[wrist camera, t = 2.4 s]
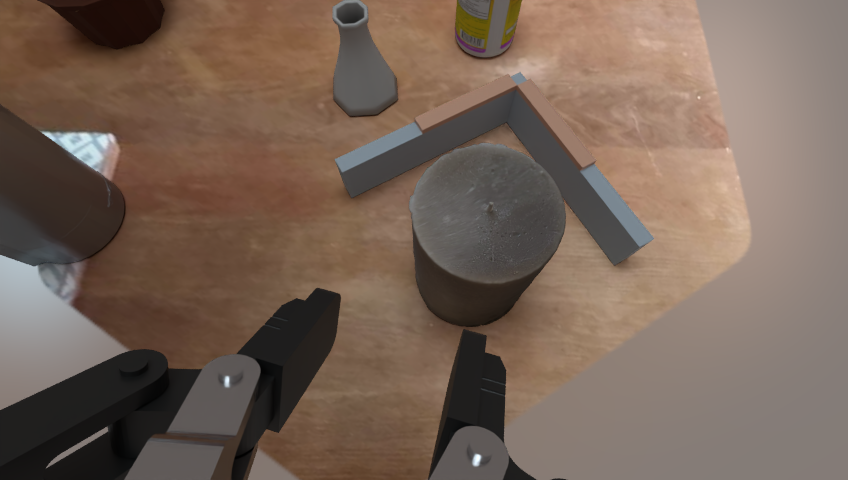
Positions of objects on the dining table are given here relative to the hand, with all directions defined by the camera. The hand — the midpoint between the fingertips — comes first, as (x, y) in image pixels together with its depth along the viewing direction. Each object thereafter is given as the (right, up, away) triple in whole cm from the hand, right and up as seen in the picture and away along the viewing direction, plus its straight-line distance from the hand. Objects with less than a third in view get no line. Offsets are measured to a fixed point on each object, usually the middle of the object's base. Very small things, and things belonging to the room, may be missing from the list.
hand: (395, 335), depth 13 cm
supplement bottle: (+8, +26, +36) cm, 45 cm away
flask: (-5, +19, +33) cm, 39 cm away
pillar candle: (+5, 0, +26) cm, 26 cm away
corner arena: (+6, +5, +27) cm, 29 cm away
